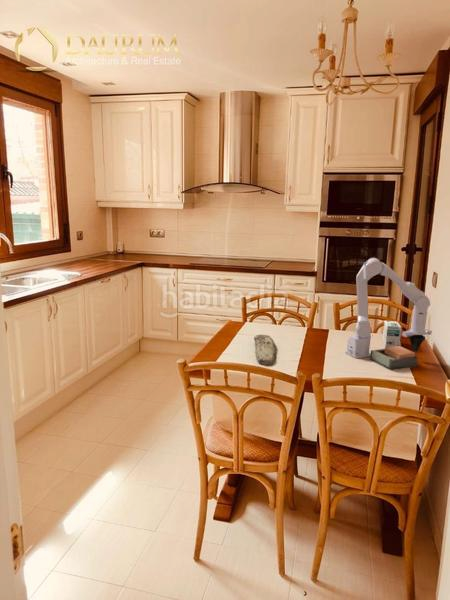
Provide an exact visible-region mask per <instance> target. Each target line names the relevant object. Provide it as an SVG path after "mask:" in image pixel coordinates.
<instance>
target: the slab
mask: <svg viewBox="0 0 450 600" xmlns="http://www.w3.org/2000/svg"><path fill="white" fill-rule="evenodd" d="M384 349H385V352H384V353H386V354H388V355H390V356H392V357H394V358H396V359H400V358H408V357H415V355H416V352H414V351H412V350H409V349H408V348H405V347H403V346H401V345H400V346H395V347H384Z"/></svg>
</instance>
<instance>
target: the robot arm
mask: <svg viewBox="0 0 450 600" xmlns="http://www.w3.org/2000/svg"><path fill="white" fill-rule="evenodd" d="M376 275H380V276H383V277H386V278H387V277H388V279H390V280H391V281H392V283H395V284H396V285H397V286H398V287H399V288H400V289H399V291H400V292H401V294H402V295H404V297H405V298H407V299H408V300H409V301H410V302H412V303H413V309H412V316H411V317H412V318H411V322H410V324H411V325H410V329H409V330H405V331H402V333H401V337H404V338H407V337H408V339H409V341H410V346H411V351H412V352H414V353H417V352H419V349H420V347H421V345H422V344H423V342H424V341H425V340H426V335H429V336H430V335H432V333H433V332H432V331H433V330H431V329H426V324H427V316H428V310H429V309H428V308H430V306H431V300H430V299H429V297H428V296H427V295H426V294H425V293H424V291H423V290H421V289H419V288H418V287H416V284H415V283H414V282H411V281H405V280H404V279H403V278H402V277H401V276H399V274H398V273H396V272H395V271H394V270H393V269H392V268H391V267H390V266H389V265H387V264H385V263H384V262H383V261H381V260H379V258H376V257H370V258H369V259H368V260H366V261H365V262H363V265H362V266H361V268H360V270H359V271H358V273H357V274H356V278H355V281H356V303H357V304H356V306H357V309H356V310H357V321H356V323H355V329H356V331H355V332H354V335H352V336H349V338H348V340H347V347H346V351H345V353H346V354H347V355H350V356H351V357H354V358H355V359H361V358H367V357H369V358H370V353H371V352H370V348H371V337H372V336H371V334H372V328H371V324H370V321H369V301H368V299H369V298H368V297H369V295H368V281H369V280H370V279H372V278H373V277H374V276H376Z"/></svg>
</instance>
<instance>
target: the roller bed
mask: <svg viewBox="0 0 450 600" xmlns="http://www.w3.org/2000/svg"><path fill="white" fill-rule="evenodd" d="M384 352H385V348H380V349H372V350H370V352H369V353H370V357H369V360H370V361H372V362H375V364H378V365H379V366H381V367H383V368H385V369H387V370H389V371H395V370H401V369H403V370H404V369H409V368H416V367H417V366H418V358H419V357H417V356H414V357H408V358H400V359H396V358H394V357H392V356H390V355H388V354H386V353H384Z"/></svg>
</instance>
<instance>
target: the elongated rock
mask: <svg viewBox="0 0 450 600" xmlns="http://www.w3.org/2000/svg"><path fill="white" fill-rule="evenodd" d="M253 339H254V346H255V351H254V353H255V358H256V362H257V363H259V364H260V365H263V366H271V365H272V364H273V363H274V361H275V357H276V353H275V352H276V348H275V347H276V344H275V342H274V341H275V340H274V339H273V338H272V337H271V336H270V335H267V334H257V335H255V336H253Z"/></svg>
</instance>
